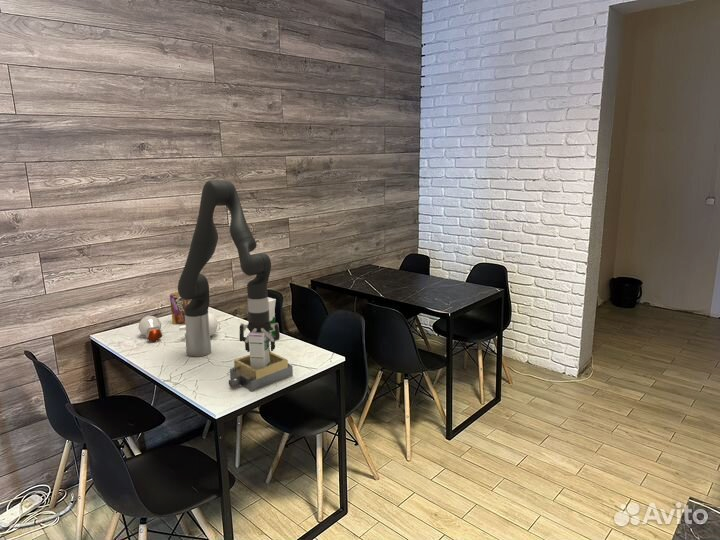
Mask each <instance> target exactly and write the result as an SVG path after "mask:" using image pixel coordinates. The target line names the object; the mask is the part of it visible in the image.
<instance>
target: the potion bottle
mask: <svg viewBox="0 0 720 540" xmlns="http://www.w3.org/2000/svg"><path fill="white" fill-rule="evenodd" d="M138 331H139V332H140V334H142V335H143V336H144V337H145V338H146V339H147V340H148V341H151V342H153V343H156V342H158V341H160V339H161V338H162V337H163V332H162V323H161V321H160V319H159V318H158V317H157V316H153V315H146V316H144V317H142V318H141V320H140V321H139V322H138Z"/></svg>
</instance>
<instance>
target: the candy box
mask: <svg viewBox="0 0 720 540" xmlns="http://www.w3.org/2000/svg"><path fill="white" fill-rule="evenodd" d="M191 300H192V299H190V300H184V299H182V298H181V297H180V295H179V293H178V291H173V292H171V293H169V301H170V310H171V311H170V312H171V321H172V325H186V323H185V313H184V309H185V307H186V306H187V305H188V304H189V303H190V302H191Z"/></svg>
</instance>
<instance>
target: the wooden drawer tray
mask: <svg viewBox="0 0 720 540" xmlns="http://www.w3.org/2000/svg"><path fill="white" fill-rule="evenodd" d="M270 362H271V364H270V365H269V366H266V367H263V368H260V369H258V370H256V369H254V368H252V367H251V363H250V354H247V355H245V356H242V357H239V358H237V359H234V360H233V363H234V365H233V366H234V367H232V368H230V369H229V376H230V379H229V380H228V385H229V387H230V389H233V388H236V387H238V386H241V387H243V388H245V389H246V390H248V391H250V392H255V391H258V390H260V389H263V388H265V387H268V386H270V385H273V384H276V383H278V382H281V381H283V380H285V379H287V378H290V377H292V376H293V374H294V373H293V365H292V364H290V362H289V360H288V359H287V358H284V357H283V356H280V355H278V354H276V353H274V352H273V351H270Z"/></svg>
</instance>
